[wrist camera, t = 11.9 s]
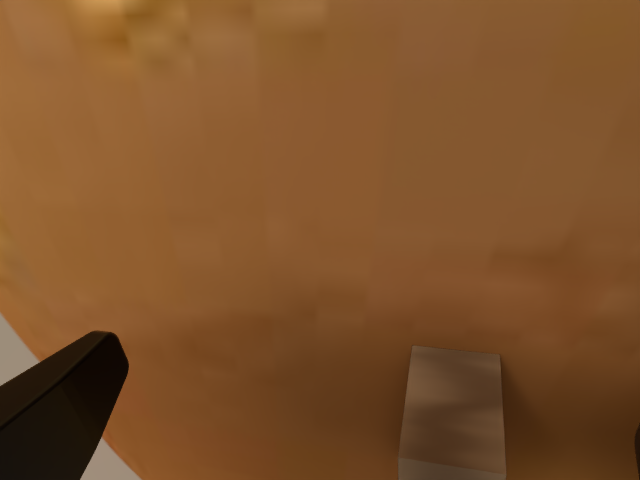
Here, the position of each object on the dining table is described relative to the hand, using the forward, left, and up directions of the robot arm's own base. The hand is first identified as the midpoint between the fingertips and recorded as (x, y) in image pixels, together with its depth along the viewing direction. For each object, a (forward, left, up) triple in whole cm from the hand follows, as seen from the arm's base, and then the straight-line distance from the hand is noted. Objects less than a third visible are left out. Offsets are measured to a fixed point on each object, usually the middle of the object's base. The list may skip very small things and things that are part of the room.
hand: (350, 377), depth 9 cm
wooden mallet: (-2, +23, -12) cm, 26 cm away
